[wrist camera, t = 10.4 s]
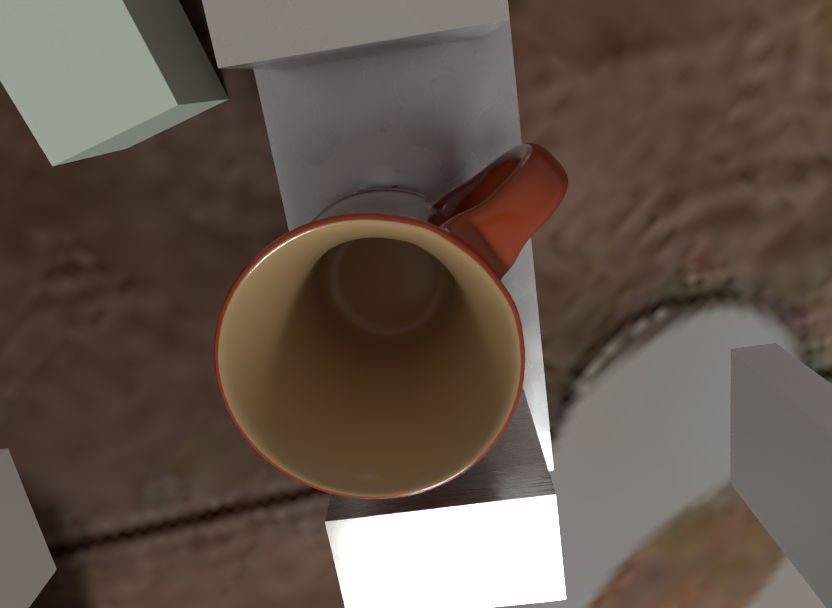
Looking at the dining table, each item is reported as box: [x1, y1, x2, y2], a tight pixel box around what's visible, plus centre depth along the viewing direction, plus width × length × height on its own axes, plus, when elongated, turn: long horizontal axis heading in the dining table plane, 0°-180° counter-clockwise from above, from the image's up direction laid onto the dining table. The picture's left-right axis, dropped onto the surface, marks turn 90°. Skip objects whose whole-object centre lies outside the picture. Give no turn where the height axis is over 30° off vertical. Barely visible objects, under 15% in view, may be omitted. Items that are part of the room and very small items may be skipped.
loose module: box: [0, 0, 229, 166], centre depth 24 cm, size 5×7×6 cm
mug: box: [214, 143, 568, 499], centre depth 23 cm, size 12×9×10 cm
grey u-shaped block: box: [202, 0, 566, 608], centre depth 25 cm, size 10×25×10 cm, turn 9°
